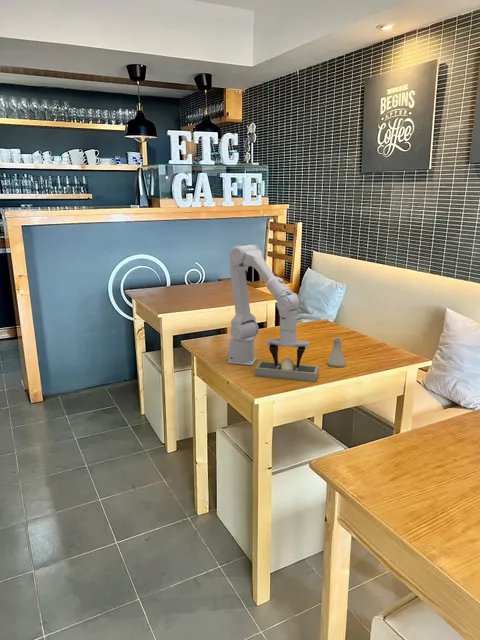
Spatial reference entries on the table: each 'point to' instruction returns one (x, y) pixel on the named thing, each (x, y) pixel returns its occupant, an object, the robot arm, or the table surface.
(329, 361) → the flask
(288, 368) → the beige domed cylinder
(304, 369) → the gray compartment tray
